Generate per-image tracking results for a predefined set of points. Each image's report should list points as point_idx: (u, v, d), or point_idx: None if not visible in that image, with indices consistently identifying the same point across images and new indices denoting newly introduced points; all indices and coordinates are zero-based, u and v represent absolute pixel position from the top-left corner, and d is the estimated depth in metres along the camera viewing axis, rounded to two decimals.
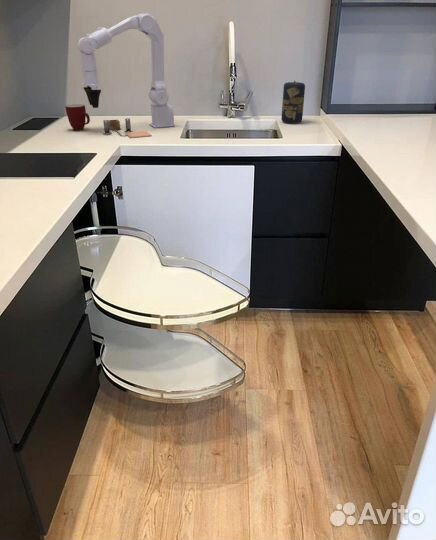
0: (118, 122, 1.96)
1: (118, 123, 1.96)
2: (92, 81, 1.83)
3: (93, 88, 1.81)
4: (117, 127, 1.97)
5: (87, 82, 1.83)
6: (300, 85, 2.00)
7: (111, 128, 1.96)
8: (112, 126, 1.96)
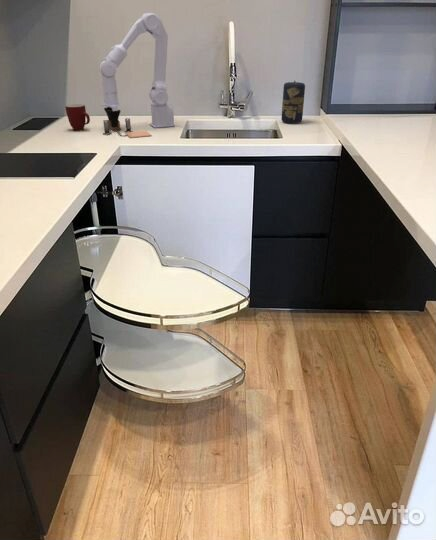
0: (118, 122, 1.96)
1: (118, 123, 1.96)
2: (113, 102, 1.91)
3: (114, 109, 1.88)
4: (117, 127, 1.97)
5: (108, 103, 1.91)
6: (300, 85, 2.00)
7: (111, 128, 1.96)
8: None
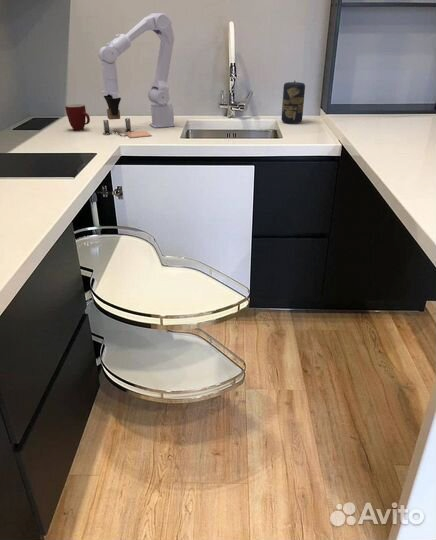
0: (118, 111, 1.90)
1: (118, 112, 1.91)
2: (113, 90, 1.85)
3: (114, 97, 1.83)
4: (117, 116, 1.91)
5: (108, 90, 1.85)
6: (300, 85, 2.00)
7: (111, 117, 1.90)
8: (112, 115, 1.90)
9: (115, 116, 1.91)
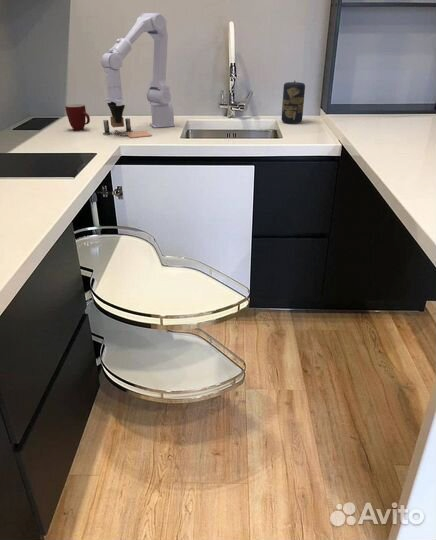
0: (122, 118, 1.86)
1: (122, 119, 1.86)
2: (116, 97, 1.81)
3: (118, 104, 1.78)
4: (121, 124, 1.87)
5: (111, 98, 1.81)
6: (300, 85, 2.00)
7: (114, 125, 1.86)
8: (115, 123, 1.86)
9: (119, 124, 1.87)
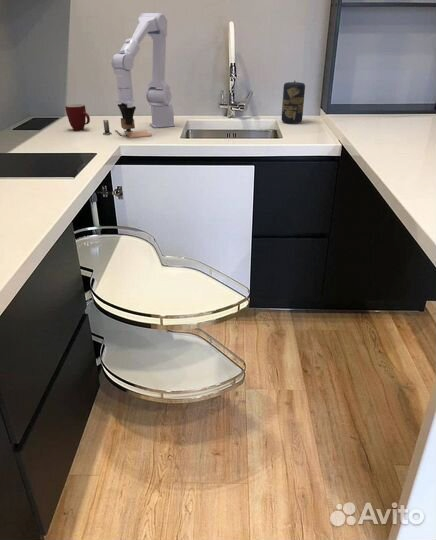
0: None
1: None
2: (127, 98, 1.78)
3: (129, 106, 1.75)
4: (131, 126, 1.84)
5: (122, 99, 1.78)
6: (300, 85, 2.00)
7: (125, 127, 1.83)
8: (126, 124, 1.83)
9: (129, 126, 1.84)
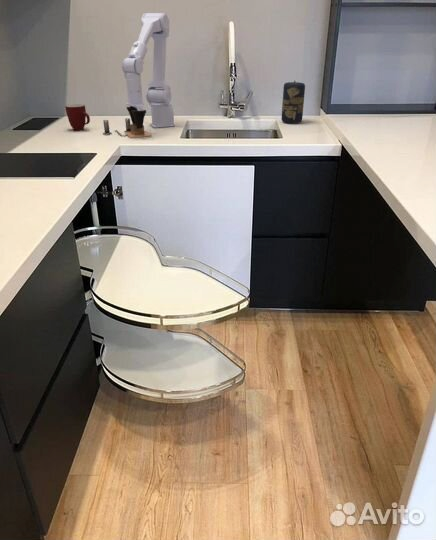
0: None
1: None
2: (137, 102, 1.80)
3: (139, 109, 1.77)
4: (141, 132, 1.86)
5: (132, 103, 1.80)
6: (300, 85, 2.00)
7: (135, 133, 1.86)
8: (136, 130, 1.85)
9: (139, 132, 1.86)
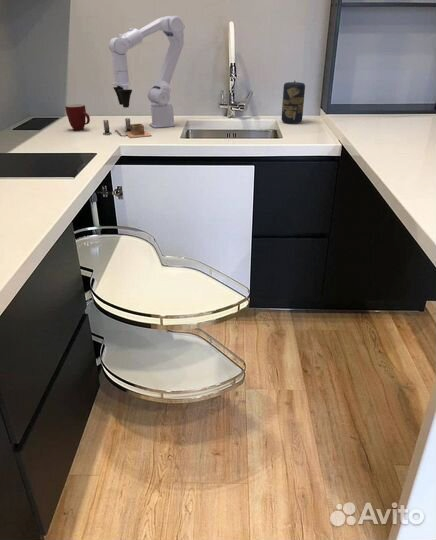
0: (142, 126, 1.86)
1: (142, 127, 1.86)
2: (123, 81, 1.85)
3: (125, 88, 1.82)
4: (141, 132, 1.86)
5: (118, 82, 1.85)
6: (300, 85, 2.00)
7: (135, 133, 1.86)
8: (136, 130, 1.85)
9: (139, 132, 1.86)
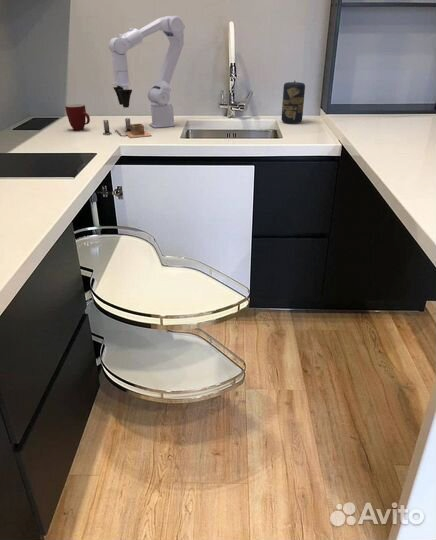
0: (142, 126, 1.86)
1: (142, 127, 1.86)
2: (123, 81, 1.85)
3: (125, 88, 1.82)
4: (141, 132, 1.86)
5: (118, 82, 1.85)
6: (300, 85, 2.00)
7: (135, 133, 1.86)
8: (136, 130, 1.85)
9: (139, 132, 1.86)
